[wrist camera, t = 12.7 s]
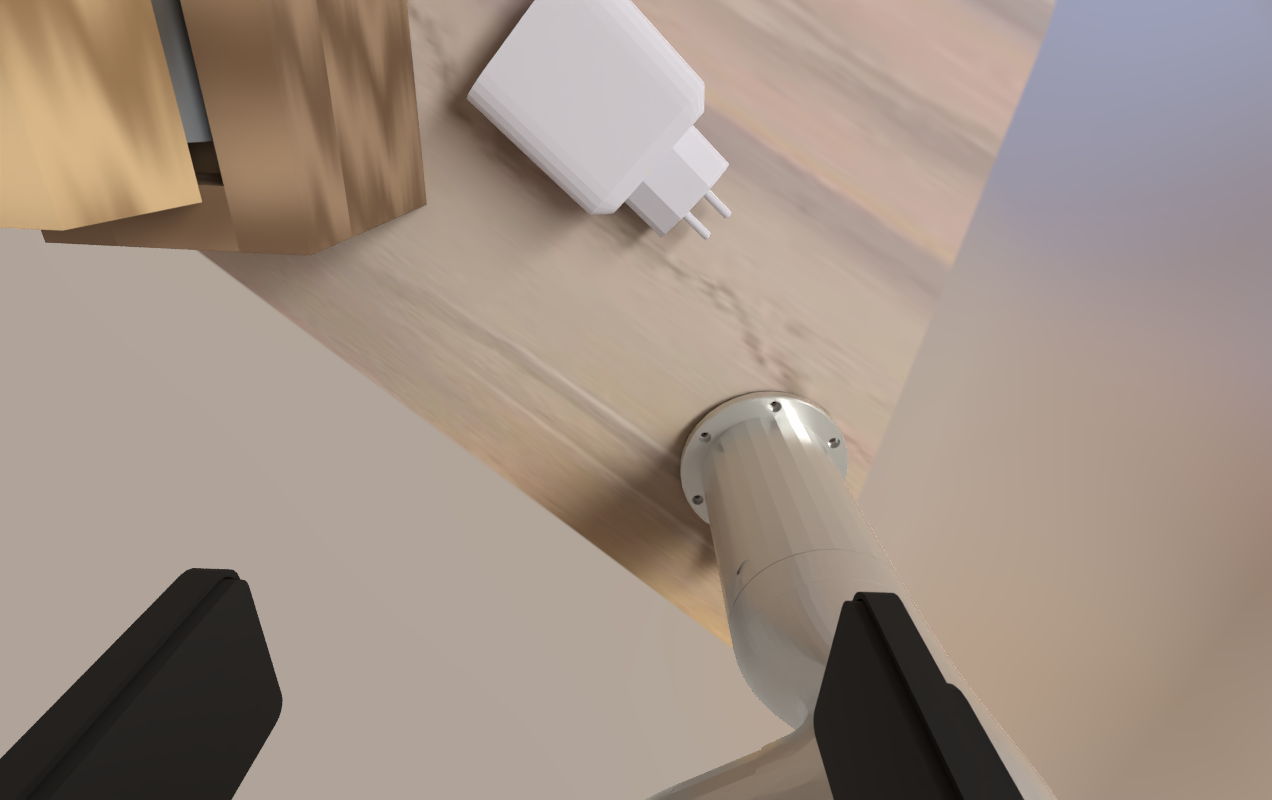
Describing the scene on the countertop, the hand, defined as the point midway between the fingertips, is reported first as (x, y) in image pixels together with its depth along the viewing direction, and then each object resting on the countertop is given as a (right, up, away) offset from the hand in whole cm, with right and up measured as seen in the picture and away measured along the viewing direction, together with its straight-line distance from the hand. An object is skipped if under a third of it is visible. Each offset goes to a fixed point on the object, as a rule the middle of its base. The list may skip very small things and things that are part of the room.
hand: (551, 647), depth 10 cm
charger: (+1, +20, +27) cm, 33 cm away
